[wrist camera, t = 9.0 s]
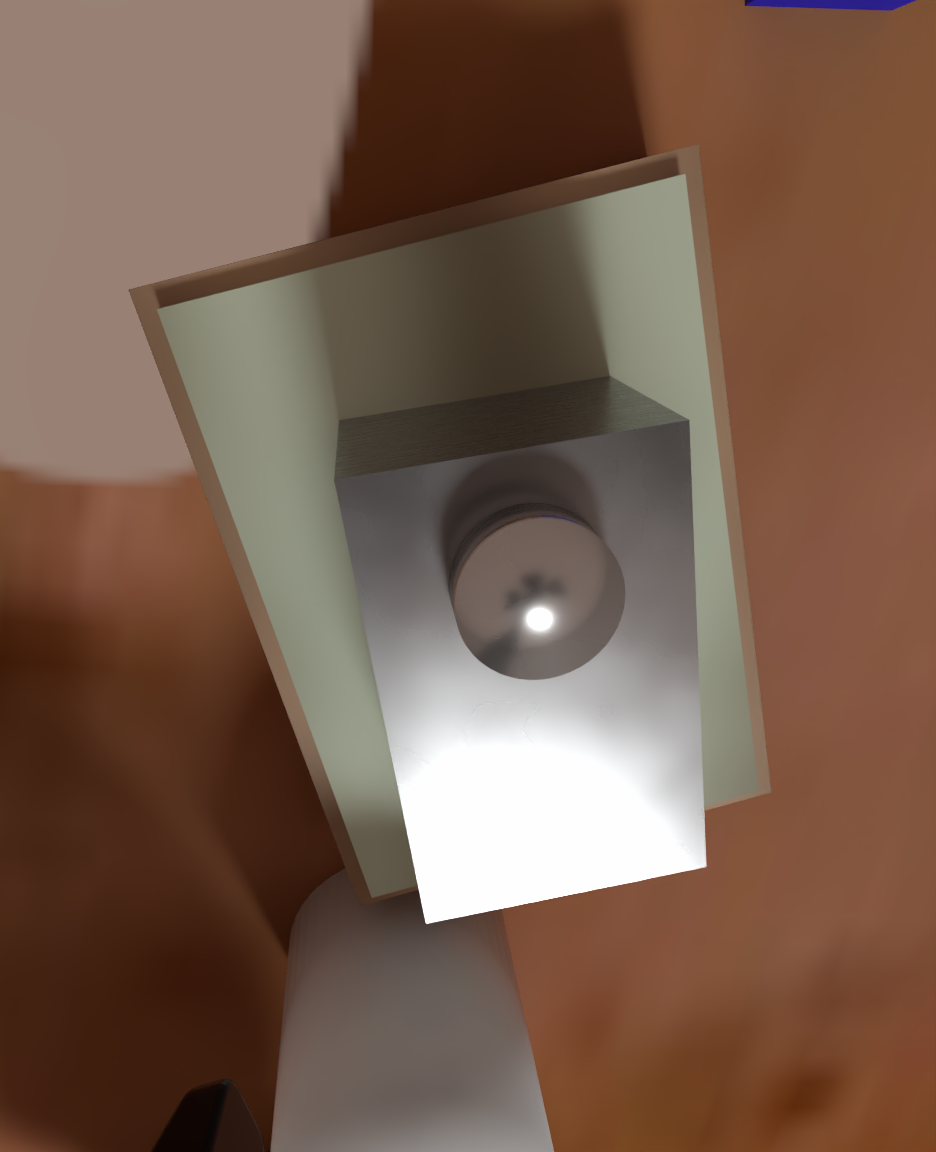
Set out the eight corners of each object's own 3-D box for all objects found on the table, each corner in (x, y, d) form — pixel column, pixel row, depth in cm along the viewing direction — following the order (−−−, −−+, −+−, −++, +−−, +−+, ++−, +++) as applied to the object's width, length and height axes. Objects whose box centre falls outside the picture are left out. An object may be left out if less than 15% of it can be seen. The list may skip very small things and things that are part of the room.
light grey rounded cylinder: (326, 1041, 25) (316, 1323, 19) (259, 888, 23) (222, 1150, 16) (523, 986, 25) (581, 1246, 19) (477, 828, 23) (526, 1064, 16)
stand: (358, 831, 22) (359, 915, 19) (161, 281, 17) (124, 290, 14) (725, 730, 22) (777, 800, 20) (648, 156, 17) (704, 142, 14)
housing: (411, 785, 18) (430, 959, 14) (338, 420, 15) (332, 496, 11) (636, 741, 19) (724, 900, 14) (610, 375, 16) (711, 431, 11)
